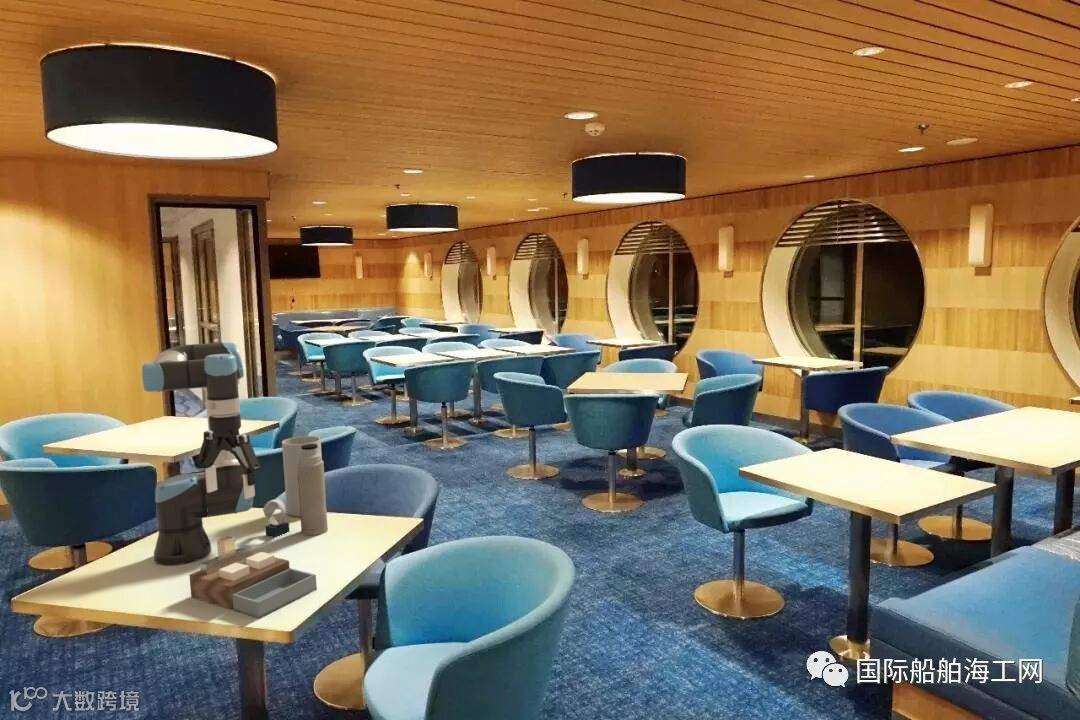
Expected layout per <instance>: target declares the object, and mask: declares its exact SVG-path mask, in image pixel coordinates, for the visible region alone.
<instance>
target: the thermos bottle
mask: <svg viewBox="0 0 1080 720" xmlns="http://www.w3.org/2000/svg"><path fill="white" fill-rule="evenodd" d="M317 447H318V445H317V444H306V445H302V446H301V449H302V451H301V453H302V455H300V456H299V463H297V472H298V487H299V502H300V531H301V534H302V533H303V534H305V535H304V536H307V535H313V536H318V534H319V535H323V534H325V533H326V532H328V527H329V526H328V514H327V499H326V498H327V496H326V480H325V467H324V465H325V463H324V460H323V459H322V460H321V455H322V454H321V455H320V454H319V453H318V449H317ZM322 533H323V534H322ZM303 534H302V535H303Z"/></svg>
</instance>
